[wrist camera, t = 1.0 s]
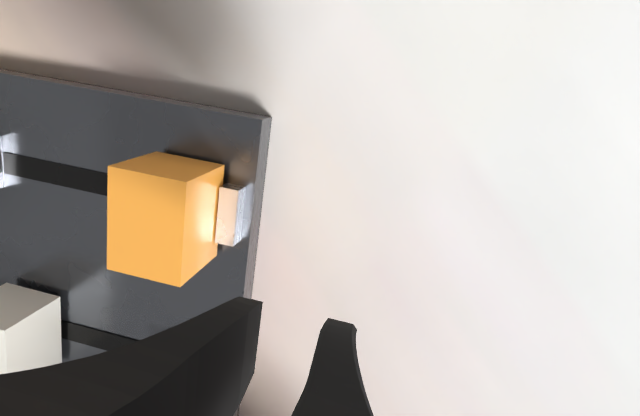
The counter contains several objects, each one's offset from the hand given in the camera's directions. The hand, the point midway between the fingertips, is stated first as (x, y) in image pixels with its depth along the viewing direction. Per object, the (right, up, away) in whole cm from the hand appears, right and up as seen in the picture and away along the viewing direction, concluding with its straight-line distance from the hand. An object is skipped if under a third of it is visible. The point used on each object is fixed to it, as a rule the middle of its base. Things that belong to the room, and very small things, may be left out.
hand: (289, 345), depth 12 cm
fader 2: (-5, +3, +8) cm, 10 cm away
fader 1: (-13, -3, +12) cm, 18 cm away
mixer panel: (-10, +1, +12) cm, 15 cm away
